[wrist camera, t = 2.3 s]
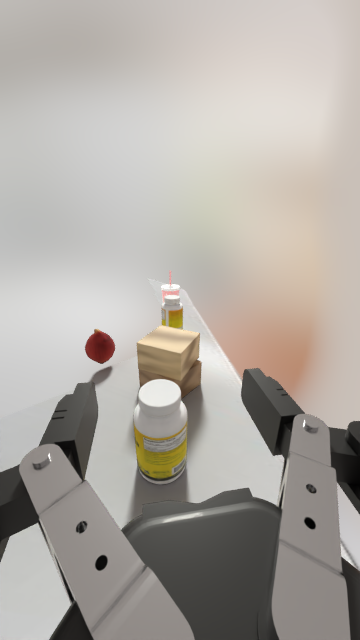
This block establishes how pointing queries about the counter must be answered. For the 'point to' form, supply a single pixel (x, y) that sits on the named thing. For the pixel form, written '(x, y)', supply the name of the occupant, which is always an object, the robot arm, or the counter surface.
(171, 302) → the supplement bottle
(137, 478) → the counter surface
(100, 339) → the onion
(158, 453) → the pill bottle
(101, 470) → the counter surface
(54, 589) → the counter surface
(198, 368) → the lower block
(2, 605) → the counter surface
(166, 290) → the beverage cup
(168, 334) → the upper block
